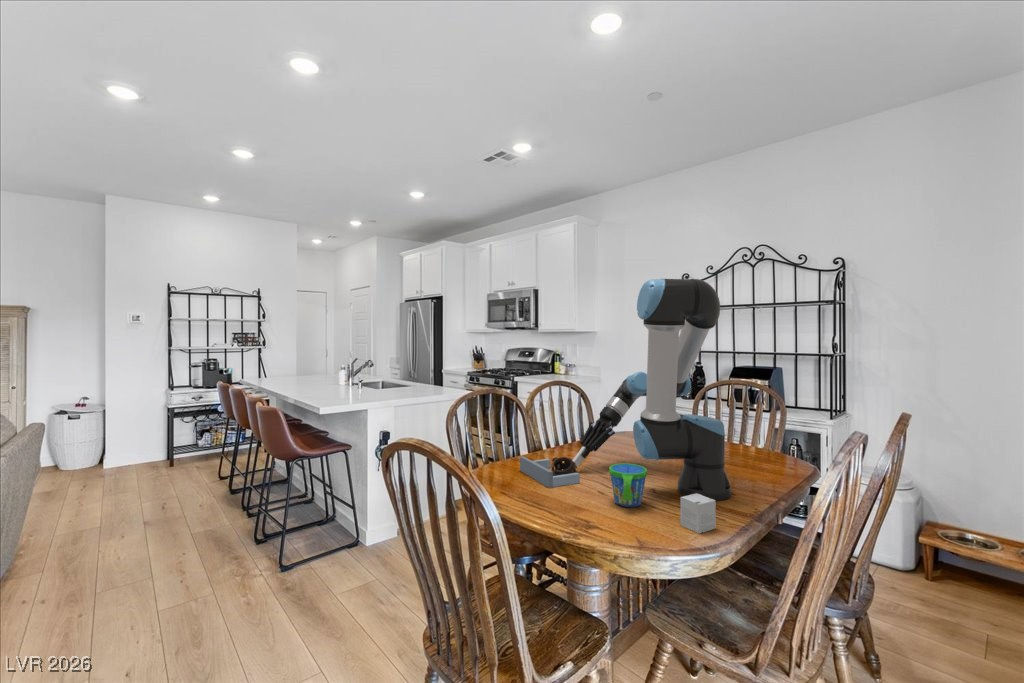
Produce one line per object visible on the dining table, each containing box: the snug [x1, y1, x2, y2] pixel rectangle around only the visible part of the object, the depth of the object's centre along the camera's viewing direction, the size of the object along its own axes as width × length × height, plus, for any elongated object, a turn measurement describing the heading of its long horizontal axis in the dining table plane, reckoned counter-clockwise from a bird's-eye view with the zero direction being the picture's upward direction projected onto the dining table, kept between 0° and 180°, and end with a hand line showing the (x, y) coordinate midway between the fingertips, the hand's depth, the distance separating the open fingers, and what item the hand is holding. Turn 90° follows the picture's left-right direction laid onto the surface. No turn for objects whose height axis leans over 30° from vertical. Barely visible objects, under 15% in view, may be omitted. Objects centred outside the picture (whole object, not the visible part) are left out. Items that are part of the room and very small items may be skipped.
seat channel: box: [519, 456, 581, 489], centre depth 163 cm, size 12×21×5 cm, turn 25°
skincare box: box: [679, 493, 717, 534], centre depth 120 cm, size 6×6×7 cm
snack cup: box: [608, 462, 648, 508], centre depth 136 cm, size 16×10×10 cm
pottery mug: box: [550, 456, 579, 476], centre depth 162 cm, size 12×10×8 cm
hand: (575, 463), depth 167 cm, fingers closed
